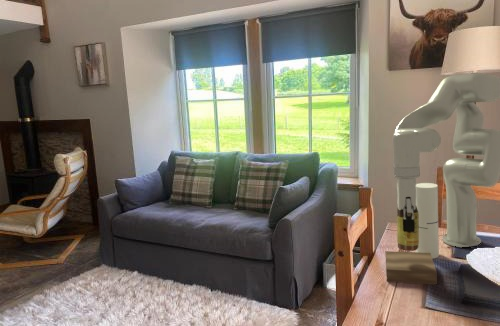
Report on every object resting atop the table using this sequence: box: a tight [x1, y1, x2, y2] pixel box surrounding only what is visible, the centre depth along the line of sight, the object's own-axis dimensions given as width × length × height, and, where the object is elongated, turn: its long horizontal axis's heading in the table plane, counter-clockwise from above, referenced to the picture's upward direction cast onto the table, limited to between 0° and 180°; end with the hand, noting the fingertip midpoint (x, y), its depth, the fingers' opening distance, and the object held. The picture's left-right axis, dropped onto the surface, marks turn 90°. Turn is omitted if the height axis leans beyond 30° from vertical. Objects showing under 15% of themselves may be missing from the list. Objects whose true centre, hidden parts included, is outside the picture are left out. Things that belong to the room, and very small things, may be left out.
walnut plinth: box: [384, 250, 438, 285], centre depth 119 cm, size 14×14×4 cm
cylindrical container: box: [415, 182, 440, 259], centre depth 129 cm, size 7×7×25 cm
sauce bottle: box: [396, 207, 419, 252], centre depth 116 cm, size 6×6×20 cm
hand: (407, 227), depth 117 cm, fingers closed on sauce bottle, 6 cm apart
